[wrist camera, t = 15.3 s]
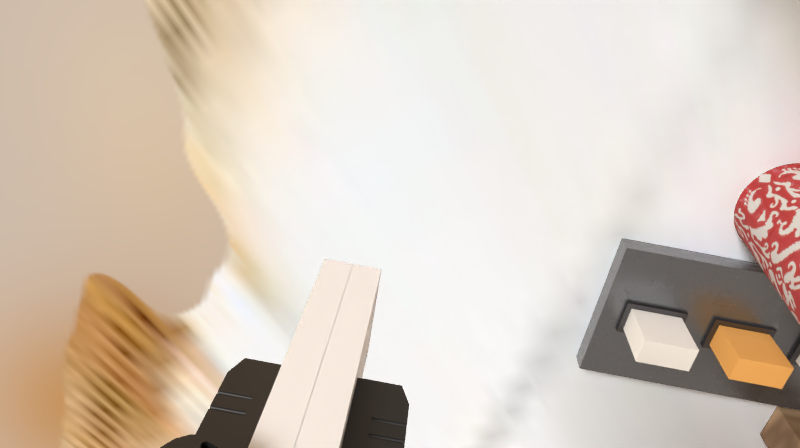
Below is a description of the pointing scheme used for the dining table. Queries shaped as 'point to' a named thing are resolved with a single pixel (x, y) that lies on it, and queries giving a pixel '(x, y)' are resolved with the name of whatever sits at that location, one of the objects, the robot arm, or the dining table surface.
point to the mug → (774, 229)
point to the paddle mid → (750, 357)
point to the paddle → (660, 340)
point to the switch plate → (690, 317)
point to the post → (782, 429)
